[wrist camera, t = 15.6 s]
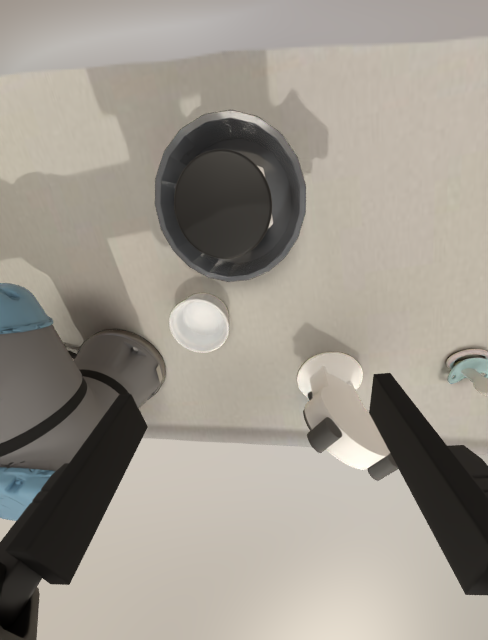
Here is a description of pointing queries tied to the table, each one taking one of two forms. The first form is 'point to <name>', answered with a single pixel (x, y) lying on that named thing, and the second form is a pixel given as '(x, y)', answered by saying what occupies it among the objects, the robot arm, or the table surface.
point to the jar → (223, 203)
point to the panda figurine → (342, 414)
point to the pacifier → (470, 369)
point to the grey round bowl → (280, 174)
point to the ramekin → (200, 322)
